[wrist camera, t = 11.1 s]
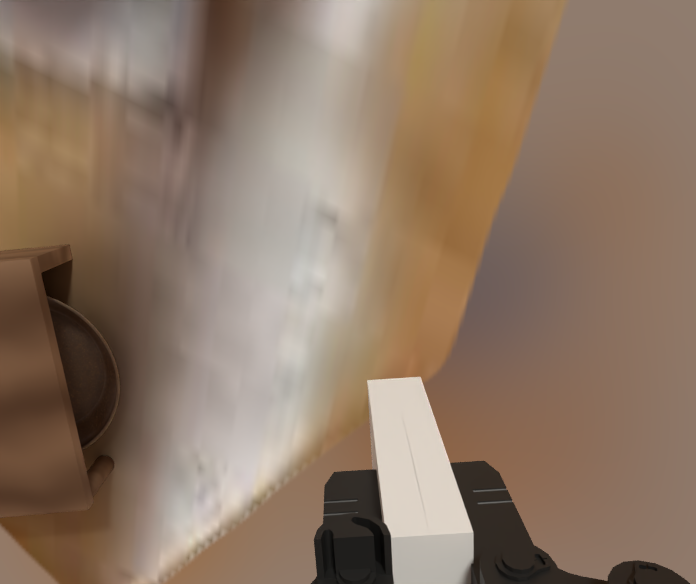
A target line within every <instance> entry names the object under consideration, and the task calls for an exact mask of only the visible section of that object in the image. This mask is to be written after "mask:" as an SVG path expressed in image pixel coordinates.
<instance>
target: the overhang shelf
mask: <svg viewBox="0 0 696 584" xmlns="http://www.w3.org/2000/svg"><path fill="white" fill-rule="evenodd" d="M70 260H72V255H71V250H70V245H59V246H49V247H38V248H27V249H16V250H5V251H0V518H3V517H14V516H25V515H36V514H48V513H59V512H70V511H82V510H89V508H90V507H91V505H92V504H93V503H94V501H93V496H94V495H95V493H96V492H97V491H98V489H99V488H100V486H101V485H102V483H103V482H104V481H105V479H106V478H107V476H108V475H109V473H110V472H111V471H112V469H113V467H114V462H113V460H112V459H111V458H110V457H108V456H100V457H99V458H97V460H96V461H95V462H94V464H93V465H92V466H91V468H90V469H89V470H88V471H87V470H86V466H85V462H84V457H83V453H82V449H81V444H80V440H79V436H78V431H77V427H76V423H75V418H74V414H73V410H72V405H71V401H70V397H69V392H68V388H67V384H66V379H65V375H64V371H63V366H62V362H61V358H60V353H59V349H58V345H57V340H56V336H55V331H54V327H53V323H52V318H51V314H50V310H49V305H48V301H47V297H46V292H45V288H44V284H43V279H42V275H41V273H42V272H44V271H47V270H49V269H51V268H54V267H56V266H58V265H61V264H63V263H65V262H68V261H70Z"/></svg>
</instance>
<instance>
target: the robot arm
mask: <svg viewBox="0 0 696 584" xmlns="http://www.w3.org/2000/svg"><path fill="white" fill-rule="evenodd" d="M367 381H368V399H369V416H370V434H371V449H372V466H373V470H358V471H342V472H334V473H333V474H332V476H331V477H330V479H329V480H328V482H327V483H326V484H325V491H324V518H323V524H322V525H321V526H320V528H318V530H317V532H316V535H315V538H314V545H315V556H316V568H317V577H316V579H315V580H314V581H313V582H312V583H311V584H690V583H689V582H688V581H687V580H685V579H684V578H682V577H681V576H679V575H678V574H677V573H675V572H673V571H672V570H670V569H668V568H665V567H663V566H660V565H658V564H655V563H650V562H644V561H628V562H623V563H621V564H619V565H617V566H615V567H613V569H612V571H611V572H610V574H609V576H608V581H604V580H598V579H593V578H588V577H581V576H578V575H574V574H570V573H567V572H565V571H563V570H560V569H558V568H557V565H556V564H555V562H554V561H553V560H552V559H551V557H550V556H549V555H548V554H547V553H546V552H544V551H543V550H541V549H540V548H538V547H536V546H534V545H533V543H532V540H531V538H530V536H529V534H528V532H527V530H526V528H525V526H524V524H523V522H522V519H521V517H520V515H519V513H518V511H517V509H516V507H515V505H514V503H513V502H512V499H511V497H510V494H509V492H508V490H506V486H505V484H504V482H503V480H502V478H501V476H500V473H499V472H498V471H496V470H495V469H494V468H493V467H491V466H490V465H489V464H488V463H486V462H485V461H474V462H460V463H459V462H458V463H450V462H449V459H448V456H447V453H446V451H445V448H444V445H443V442H442V439H441V436H440V433H439V430H438V427H437V424H436V422H435V418H434V416H433V412H432V410H431V407H430V404H429V401H428V398H427V395H426V392H425V389H424V386H423V383H422V380H421V377H411V378H395V379H380V380H367Z"/></svg>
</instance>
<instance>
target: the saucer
mask: <svg viewBox="0 0 696 584" xmlns="http://www.w3.org/2000/svg"><path fill="white" fill-rule="evenodd" d="M46 297H47V301H48V305H49V310H50V314H51V318H52V323H53V327H54V331H55V336H56V340H57V345H58V349H59V353H60V358H61V362H62V366H63V371H64V375H65V379H66V384H67V388H68V392H69V397H70V401H71V405H72V410H73V414H74V418H75V423H76V427H77V431H78V436H79V440H80V444H81V449H82V450H84V449H86V448H87V447H89V446H90V445H92V444H93V443H94V442H95V441H96V440H98V439H99V438H100V437H101V435H102V434H103V433H104V432H105V431H106V429H107V428H108V427H109V425H110V423H111V421H112V420H113V417H114V415H115V412H116V409H117V406H118V402H119V396H120V380H119V373H118V369H117V365H116V362H115V359H114V356H113V354H112V352H111V350H110V348H109V346H108V344H107V342H106V341H105V339H104V338H103V336H102V335H101V334H100V332H99V331H98V330H97V329H96V328H95V326H94V325H93V324H92V323H91V322H90V321H89V320H88V319H86V318H85V317H84V316H83V315H81V314H80V313H79V312H78V311H76V310H75V309H73V308H72V307H70V306H68V305H66V304H64V303H62V302H60V301H58V300H56V299H54V298H51V297H49V296H46Z"/></svg>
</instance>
